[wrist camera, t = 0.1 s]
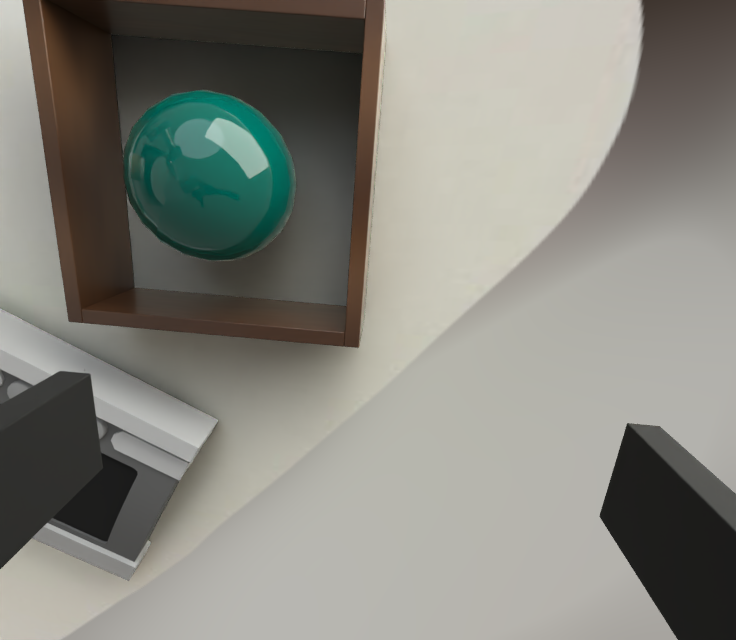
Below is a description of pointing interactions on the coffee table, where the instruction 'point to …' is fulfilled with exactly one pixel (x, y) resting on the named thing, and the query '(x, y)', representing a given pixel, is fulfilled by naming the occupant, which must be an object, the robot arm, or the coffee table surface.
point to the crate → (105, 163)
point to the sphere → (209, 175)
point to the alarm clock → (109, 448)
